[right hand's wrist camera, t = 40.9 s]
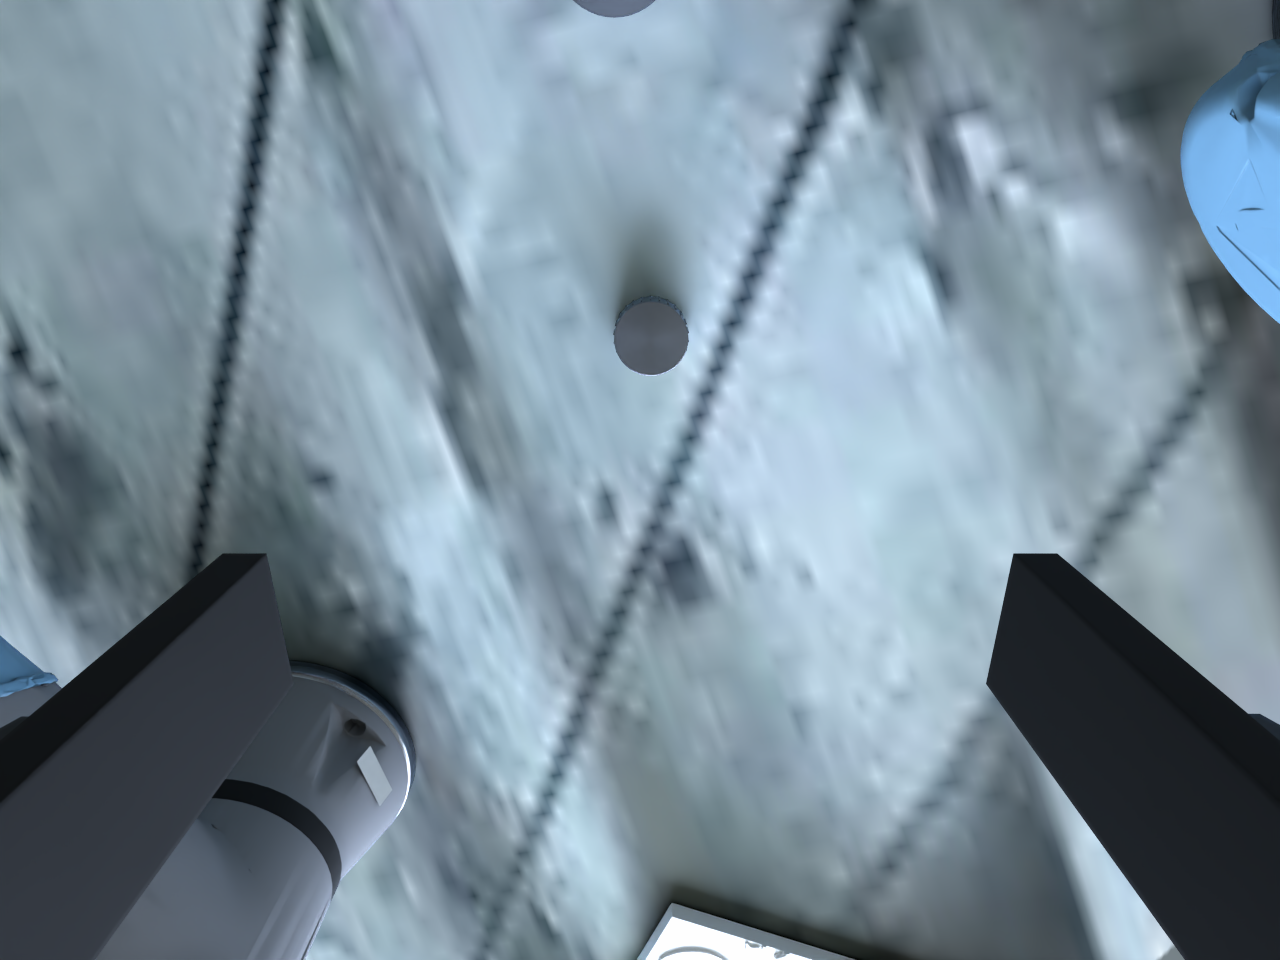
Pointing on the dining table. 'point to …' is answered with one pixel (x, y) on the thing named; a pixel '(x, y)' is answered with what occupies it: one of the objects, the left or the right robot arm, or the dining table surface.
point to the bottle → (614, 6)
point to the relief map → (721, 940)
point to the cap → (651, 336)
